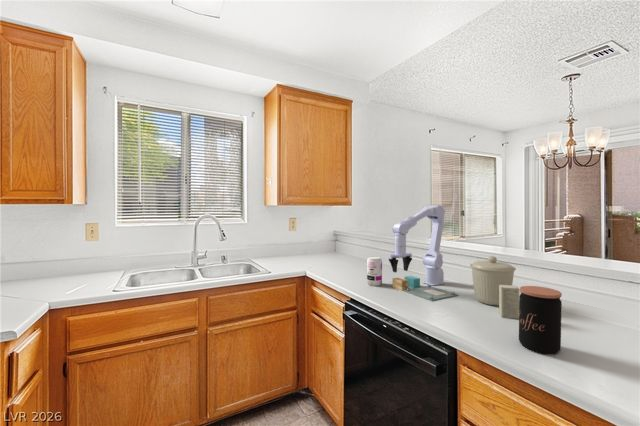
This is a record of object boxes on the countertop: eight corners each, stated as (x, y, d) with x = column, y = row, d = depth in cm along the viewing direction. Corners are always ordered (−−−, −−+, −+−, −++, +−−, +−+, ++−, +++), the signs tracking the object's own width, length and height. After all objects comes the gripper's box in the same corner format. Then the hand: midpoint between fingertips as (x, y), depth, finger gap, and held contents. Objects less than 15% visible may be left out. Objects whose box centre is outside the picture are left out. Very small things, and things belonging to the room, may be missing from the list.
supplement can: (381, 282, 173) (381, 256, 173) (382, 286, 165) (382, 259, 165) (366, 282, 174) (366, 256, 174) (367, 286, 166) (367, 258, 166)
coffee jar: (510, 340, 100) (511, 286, 99) (541, 339, 101) (542, 285, 100) (536, 356, 89) (537, 295, 89) (570, 355, 90) (571, 294, 89)
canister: (512, 299, 143) (512, 254, 142) (518, 311, 126) (519, 261, 126) (469, 294, 150) (469, 252, 150) (470, 305, 134) (470, 258, 133)
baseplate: (429, 286, 164) (429, 284, 164) (457, 295, 148) (457, 292, 148) (404, 291, 156) (404, 288, 156) (431, 301, 140) (431, 298, 140)
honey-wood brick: (398, 286, 166) (398, 277, 165) (408, 289, 159) (408, 280, 159) (392, 287, 163) (392, 278, 163) (401, 290, 157) (401, 281, 157)
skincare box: (516, 315, 122) (516, 285, 122) (519, 319, 118) (519, 288, 117) (498, 313, 124) (498, 284, 124) (500, 317, 120) (501, 286, 119)
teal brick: (410, 284, 169) (410, 275, 169) (419, 287, 163) (420, 278, 163) (404, 285, 167) (404, 276, 167) (413, 288, 161) (413, 279, 161)
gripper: (405, 244, 168) (405, 268, 168) (384, 245, 161) (384, 271, 161) (414, 245, 161) (414, 271, 162) (393, 247, 155) (393, 273, 155)
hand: (400, 271), depth 161 cm, fingers open, 7 cm apart
